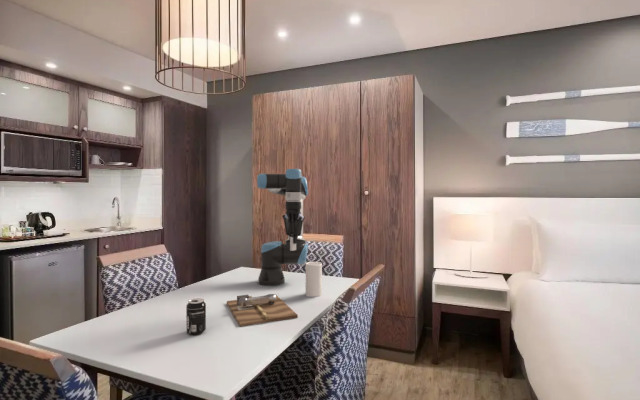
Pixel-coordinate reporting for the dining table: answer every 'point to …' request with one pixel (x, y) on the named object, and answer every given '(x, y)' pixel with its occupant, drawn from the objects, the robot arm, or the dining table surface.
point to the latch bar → (257, 300)
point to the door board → (260, 311)
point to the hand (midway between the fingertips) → (293, 250)
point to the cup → (313, 279)
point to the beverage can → (196, 316)
